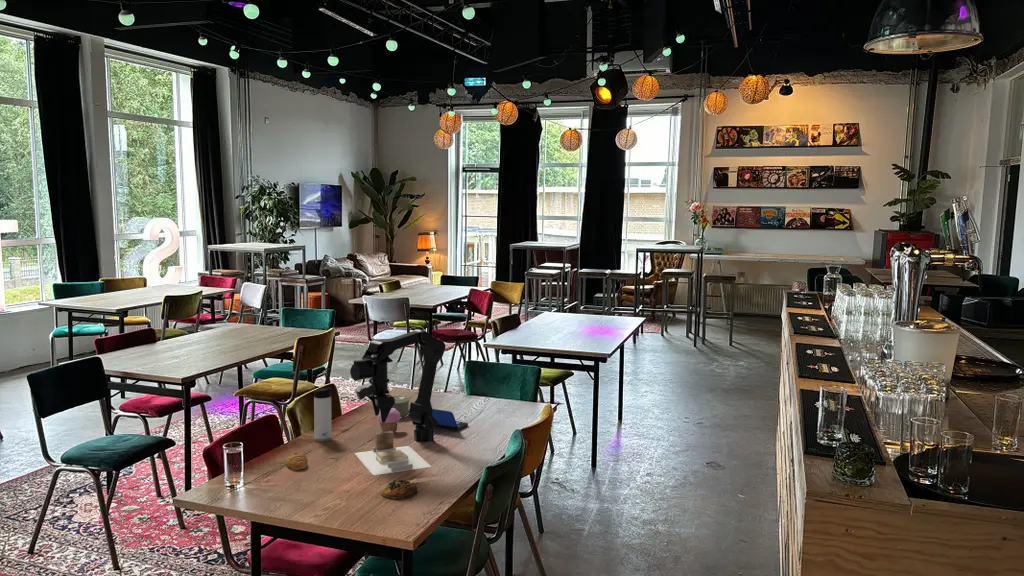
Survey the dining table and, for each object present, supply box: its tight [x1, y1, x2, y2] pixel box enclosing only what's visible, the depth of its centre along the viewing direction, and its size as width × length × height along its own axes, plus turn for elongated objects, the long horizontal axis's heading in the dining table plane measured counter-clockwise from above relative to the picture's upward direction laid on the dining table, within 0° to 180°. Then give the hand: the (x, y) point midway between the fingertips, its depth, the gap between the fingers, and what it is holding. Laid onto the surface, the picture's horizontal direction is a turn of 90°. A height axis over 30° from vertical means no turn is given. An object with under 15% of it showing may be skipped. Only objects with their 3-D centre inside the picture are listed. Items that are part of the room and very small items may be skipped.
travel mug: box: [313, 387, 333, 443], centre depth 266 cm, size 6×7×20 cm
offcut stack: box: [376, 450, 408, 464], centre depth 243 cm, size 10×5×2 cm, turn 117°
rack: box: [354, 445, 432, 476], centre depth 243 cm, size 20×24×2 cm
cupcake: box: [376, 408, 401, 434], centre depth 276 cm, size 9×9×10 cm
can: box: [391, 395, 410, 417], centre depth 302 cm, size 12×12×7 cm
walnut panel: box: [374, 431, 394, 452], centre depth 250 cm, size 6×2×7 cm, turn 117°
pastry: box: [285, 451, 309, 471], centre depth 237 cm, size 9×7×4 cm
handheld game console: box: [432, 408, 469, 432], centre depth 285 cm, size 16×13×9 cm
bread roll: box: [380, 478, 418, 500], centre depth 216 cm, size 11×11×5 cm
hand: (380, 418), depth 250 cm, fingers open, 9 cm apart
